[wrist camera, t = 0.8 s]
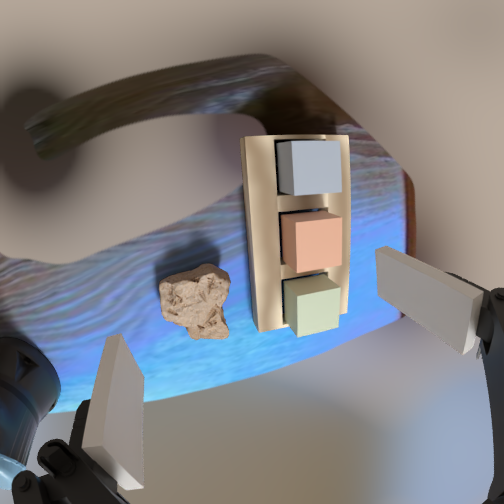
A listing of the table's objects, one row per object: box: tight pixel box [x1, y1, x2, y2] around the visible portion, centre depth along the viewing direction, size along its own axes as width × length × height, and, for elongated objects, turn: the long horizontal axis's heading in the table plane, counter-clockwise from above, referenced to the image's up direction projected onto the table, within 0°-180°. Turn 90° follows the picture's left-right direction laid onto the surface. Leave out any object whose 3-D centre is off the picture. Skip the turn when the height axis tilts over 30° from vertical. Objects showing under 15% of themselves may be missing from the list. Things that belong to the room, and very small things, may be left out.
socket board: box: [240, 135, 351, 333], centre depth 41 cm, size 14×26×3 cm, turn 4°
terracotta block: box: [281, 211, 342, 273], centre depth 38 cm, size 6×6×5 cm
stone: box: [159, 263, 231, 340], centre depth 39 cm, size 9×11×5 cm
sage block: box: [284, 274, 341, 337], centre depth 40 cm, size 6×6×5 cm
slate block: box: [277, 141, 342, 196], centre depth 35 cm, size 6×6×5 cm
